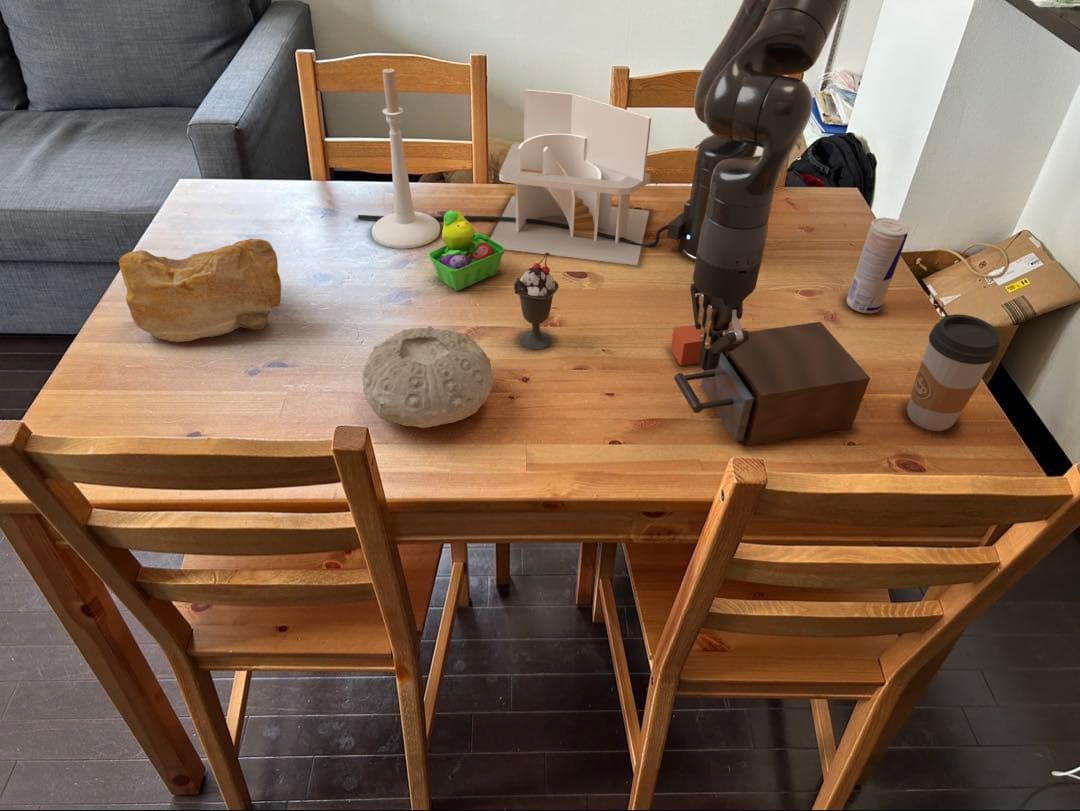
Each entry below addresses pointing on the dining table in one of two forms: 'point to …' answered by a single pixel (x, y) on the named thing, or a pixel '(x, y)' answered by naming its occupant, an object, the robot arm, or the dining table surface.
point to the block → (686, 344)
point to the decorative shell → (427, 377)
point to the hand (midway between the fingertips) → (707, 366)
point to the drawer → (723, 395)
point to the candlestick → (401, 187)
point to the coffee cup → (951, 370)
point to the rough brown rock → (202, 290)
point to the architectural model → (576, 179)
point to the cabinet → (799, 383)
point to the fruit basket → (464, 253)
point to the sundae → (536, 303)
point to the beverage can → (877, 264)
